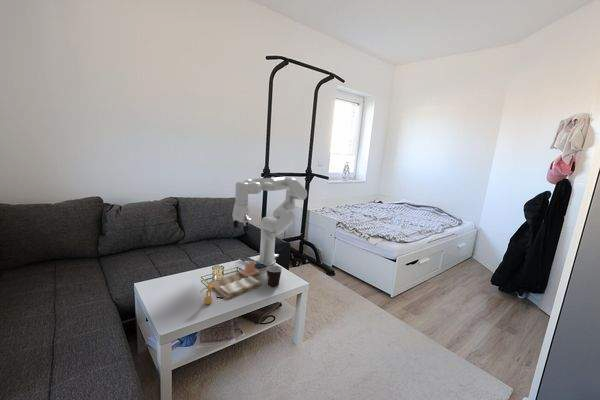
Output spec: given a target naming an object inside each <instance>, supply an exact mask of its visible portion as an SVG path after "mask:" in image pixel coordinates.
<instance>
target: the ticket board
mask: <svg viewBox="0 0 600 400" xmlns="http://www.w3.org/2000/svg"><path fill="white" fill-rule="evenodd" d="M209 283H210V284H211V286H214V287H216V288H217V289H218V290H217V289H216V288H212V289H211V290H212V291H214V292H216V293H218V295H219V296H221V297H223V298H224V300H226V301H227V300H230V299H232V298H235V297H238V296H240V295H242V294H245V293H247V292H249V291H252V290H255V289H258V288H260V287H263V286H264V282H263V281H261V280H260V279H258V278H256V277H255V276H254V275H252V276H248V277H245V276H244V275H242V274H240V272H239V273H236V274H233V275H230V276H226V277H224V278H222V279H217V280H215V281H212V282H209Z"/></svg>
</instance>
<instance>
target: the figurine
mask: <svg viewBox="0 0 600 400" xmlns="http://www.w3.org/2000/svg"><path fill="white" fill-rule="evenodd" d="M210 283H211V282H209V283H208V284H207V285H206V287H204V288H202V290H200V292H199V294H201V293H202V292H204V290H206V289H207V290H206V291H205V295H206V296H205V297H204V299H203V302H204V304H205V305H211V303H213V297H212V292H213V289H212V288H216V287H214V286H211V284H210ZM216 289H217V288H216ZM217 290H218V289H217ZM208 293H209V295H208Z"/></svg>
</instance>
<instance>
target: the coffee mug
mask: <svg viewBox="0 0 600 400" xmlns="http://www.w3.org/2000/svg"><path fill="white" fill-rule="evenodd" d="M282 270H283V269H282V267H281V266H279V265H275V264H273V265H267V266H266V281H267V286H268V287H269V288H277V287H279V285H280V280H281V275H282Z"/></svg>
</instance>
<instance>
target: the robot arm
mask: <svg viewBox="0 0 600 400" xmlns="http://www.w3.org/2000/svg"><path fill="white" fill-rule="evenodd" d="M281 190H286V191H285V199H284V201H283V202H282V203H280V205H278V207H276V208H275V209H274V210H273V212H272V216H264V217H262V219H261V220H260V223H259V225H260V247H259V257H258V258H257V259H256V260H257V261H258V262H260V263H262V264H264V265H263V266H271V265H275V264H277V263H276V261H277V260H276V258H278V257H279V256H280V254H278V253H276V254H275V247H276V246H275V245H276V236H278V235H281V234H282V233H284V231H285V230H286V229H288V228H289V226H291V225H292V224H293V223H294V220H295V216H296V215H295V212H294V211H293V210H294V209H295V206H296V200H298V201H304V200H306V198H307V197H308V191H307V189H306V188H305V187H304V186H303V184H302V183H301V182H300V181H299V180H298V179H296V178H294V177H291V176H290V177H289V176H285V175H284V176H277V177H276V176H275V177H263V178H249V179H245V180H244V181H236V182H235V190H234V192H235V195H234V201H235V202H234V205H233V209H232V213H231V217H232V218H231V219H232V222H233V223H232V225H233V226H232V228H233V229H235V228H236V229H237V228H238V227H239V222H240V223H243V228H242V229H243V233H248V231H249V225H250V224H251V222H252V219H251V218H250V217H249V216H250V215H249V213H250V212H249V211H250V210H249V195H257V194H260V193H261V192H262V191H266V192H274V191H281ZM258 262H257V263H258Z"/></svg>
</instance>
